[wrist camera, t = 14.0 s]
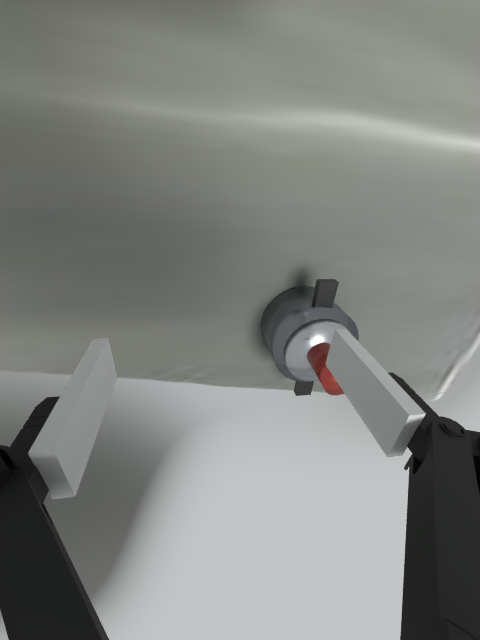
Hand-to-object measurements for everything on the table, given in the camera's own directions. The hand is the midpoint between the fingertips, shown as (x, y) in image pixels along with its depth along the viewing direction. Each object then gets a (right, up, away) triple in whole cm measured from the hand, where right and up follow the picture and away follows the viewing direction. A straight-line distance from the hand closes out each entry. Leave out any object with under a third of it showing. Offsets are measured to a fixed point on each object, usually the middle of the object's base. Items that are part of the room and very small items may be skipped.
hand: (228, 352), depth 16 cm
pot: (+12, +2, +35) cm, 37 cm away
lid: (+13, -3, +27) cm, 30 cm away
